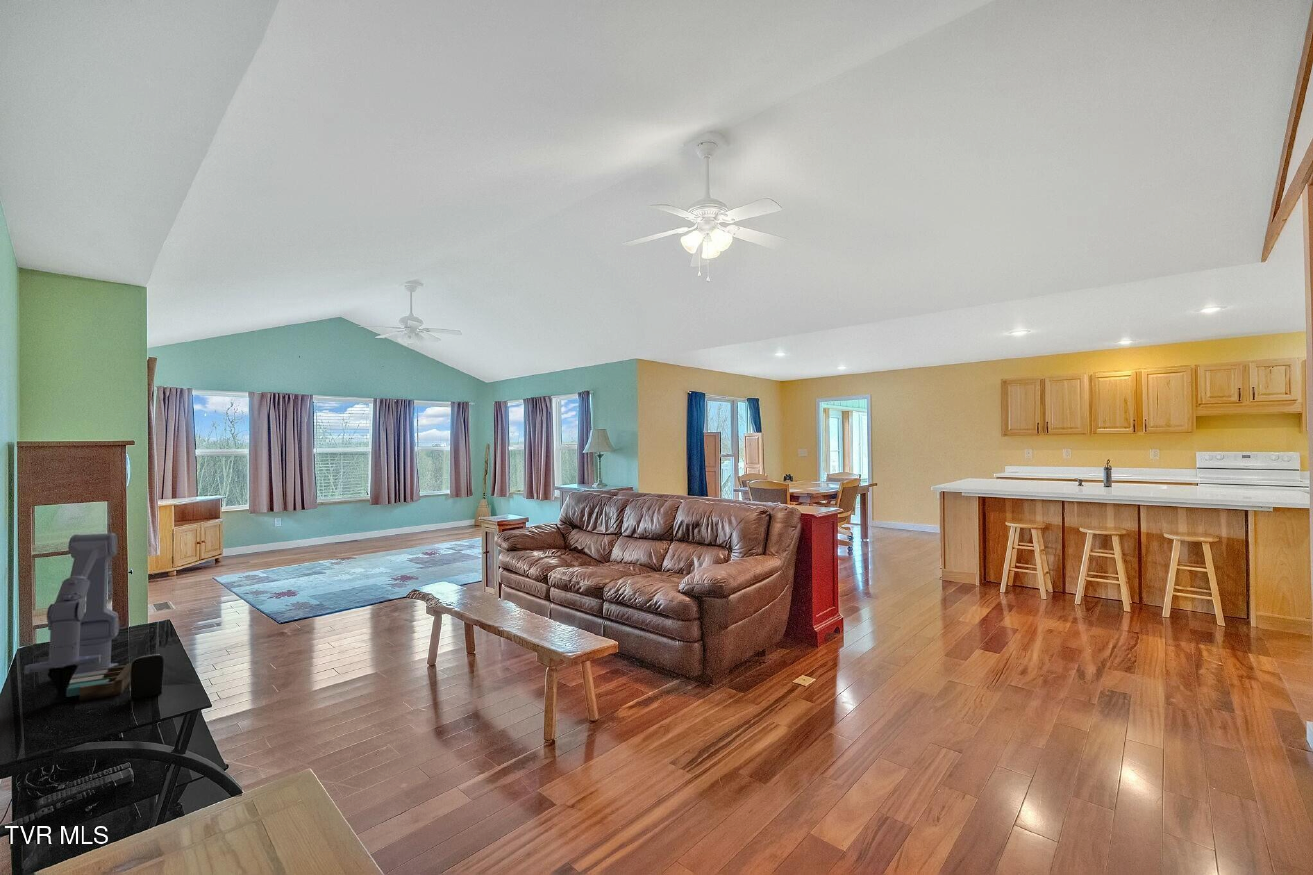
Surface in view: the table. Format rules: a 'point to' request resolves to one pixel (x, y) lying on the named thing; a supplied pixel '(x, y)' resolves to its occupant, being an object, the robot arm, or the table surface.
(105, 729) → the table surface
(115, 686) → the walnut key block
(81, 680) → the off-white rectangular box
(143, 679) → the battery charger
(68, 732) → the table surface
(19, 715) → the table surface
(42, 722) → the table surface
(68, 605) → the robot arm
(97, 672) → the light grey rectangular block
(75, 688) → the teal flat slab
